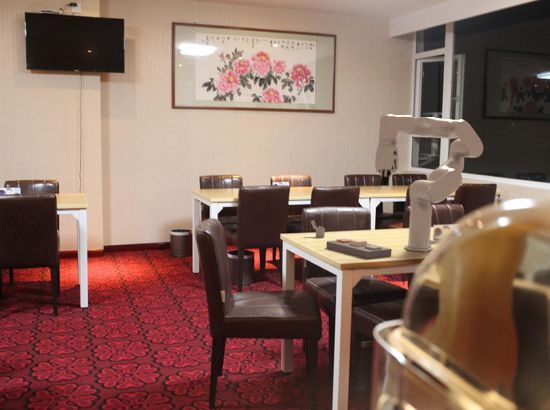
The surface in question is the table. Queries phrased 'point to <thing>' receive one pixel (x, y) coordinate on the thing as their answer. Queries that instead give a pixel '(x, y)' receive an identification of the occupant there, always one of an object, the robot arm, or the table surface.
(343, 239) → the terracotta button
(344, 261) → the table surface
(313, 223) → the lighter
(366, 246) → the slate button
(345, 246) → the button panel
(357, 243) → the cream button
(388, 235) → the table surface
